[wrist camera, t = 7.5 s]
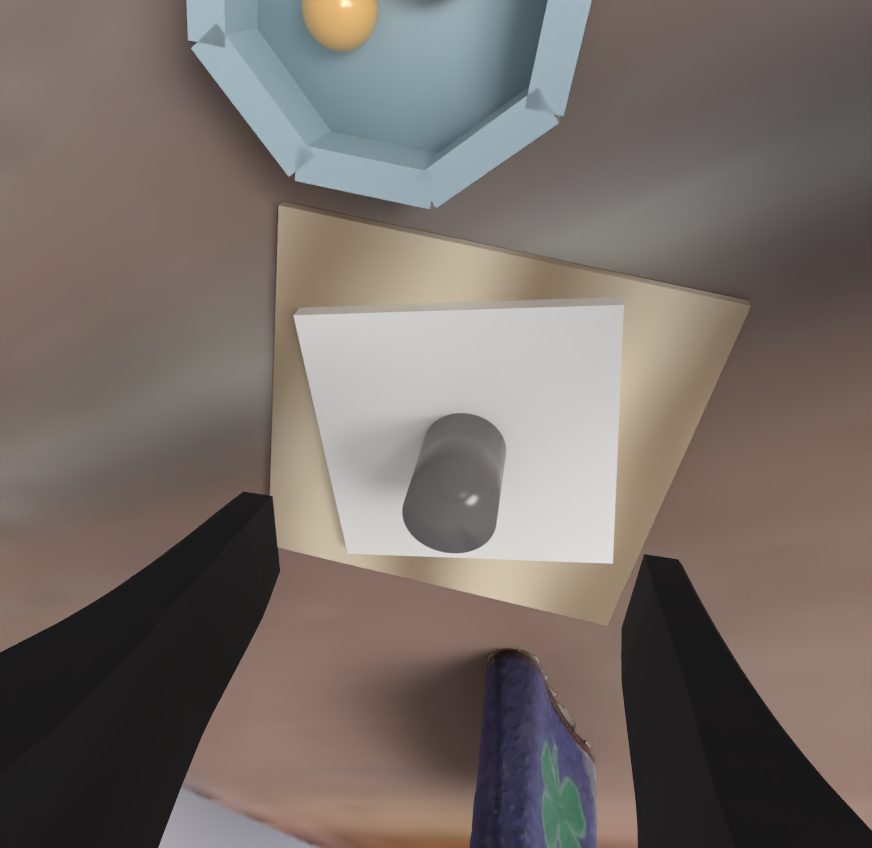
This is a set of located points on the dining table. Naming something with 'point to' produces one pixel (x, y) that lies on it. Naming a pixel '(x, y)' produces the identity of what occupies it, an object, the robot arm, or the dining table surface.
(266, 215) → the dining table surface
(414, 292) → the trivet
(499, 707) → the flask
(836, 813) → the robot arm
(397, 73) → the bowl
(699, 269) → the dining table surface
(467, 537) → the cover
